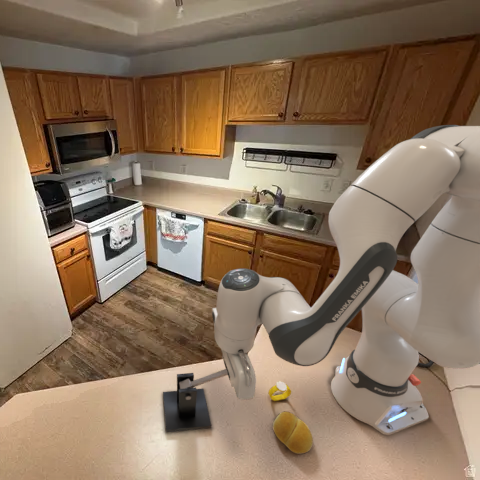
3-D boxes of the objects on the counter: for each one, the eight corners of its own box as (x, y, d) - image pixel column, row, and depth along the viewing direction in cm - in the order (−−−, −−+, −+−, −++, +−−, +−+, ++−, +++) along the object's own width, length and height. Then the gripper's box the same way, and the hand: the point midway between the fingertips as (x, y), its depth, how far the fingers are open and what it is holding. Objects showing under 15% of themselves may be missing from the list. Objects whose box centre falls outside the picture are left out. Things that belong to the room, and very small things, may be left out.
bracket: (203, 390, 77) (205, 363, 71) (211, 428, 68) (214, 400, 62) (163, 394, 76) (161, 366, 70) (166, 432, 68) (165, 404, 62)
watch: (285, 391, 76) (289, 379, 73) (290, 401, 73) (295, 389, 71) (265, 394, 75) (269, 382, 72) (270, 404, 73) (274, 392, 70)
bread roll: (302, 463, 61) (306, 455, 59) (267, 431, 67) (270, 423, 65) (317, 436, 66) (321, 428, 64) (282, 409, 72) (285, 400, 70)
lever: (230, 363, 68) (227, 358, 67) (236, 381, 63) (233, 376, 62) (182, 381, 70) (178, 376, 69) (184, 400, 66) (181, 395, 65)
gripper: (267, 374, 50) (258, 414, 56) (233, 301, 68) (230, 338, 74) (235, 377, 50) (230, 417, 56) (210, 304, 67) (208, 340, 74)
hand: (230, 371), depth 65 cm, fingers closed on lever, 5 cm apart
